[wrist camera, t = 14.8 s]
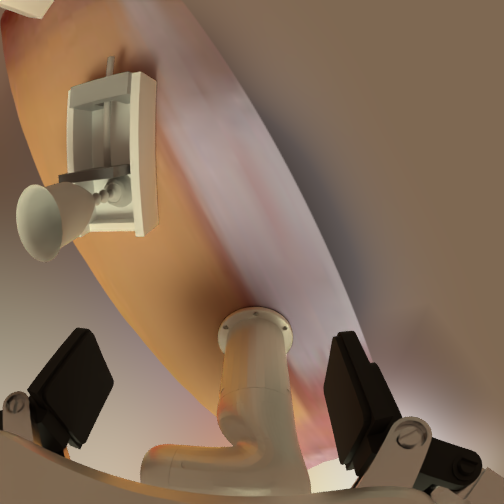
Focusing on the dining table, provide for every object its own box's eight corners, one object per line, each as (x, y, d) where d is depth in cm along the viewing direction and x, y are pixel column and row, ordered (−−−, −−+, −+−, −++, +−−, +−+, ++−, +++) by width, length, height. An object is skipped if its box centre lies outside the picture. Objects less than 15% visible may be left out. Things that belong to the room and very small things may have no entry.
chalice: (136, 219, 37) (63, 270, 20) (98, 209, 36) (18, 252, 19) (144, 169, 34) (64, 190, 17) (104, 162, 34) (16, 180, 17)
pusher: (142, 170, 34) (113, 178, 26) (93, 175, 34) (59, 184, 26) (145, 56, 28) (119, 36, 20) (96, 68, 28) (63, 55, 20)
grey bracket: (159, 223, 38) (141, 239, 32) (95, 225, 38) (71, 239, 32) (156, 81, 31) (137, 69, 24) (90, 95, 31) (64, 89, 24)
